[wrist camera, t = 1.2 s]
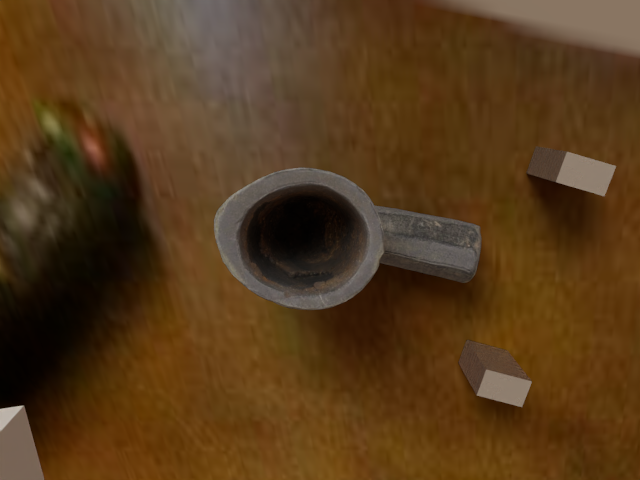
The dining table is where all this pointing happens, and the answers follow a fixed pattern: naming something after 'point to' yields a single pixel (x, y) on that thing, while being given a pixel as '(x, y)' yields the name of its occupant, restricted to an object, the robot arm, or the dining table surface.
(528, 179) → the dining table surface
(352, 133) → the dining table surface
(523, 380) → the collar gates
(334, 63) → the dining table surface
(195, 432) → the dining table surface
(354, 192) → the pipe
